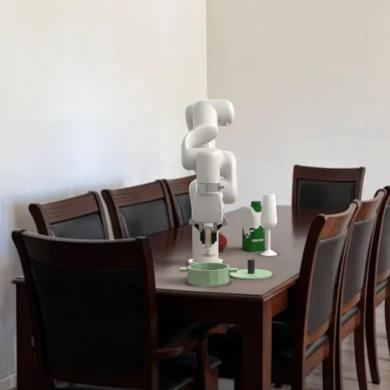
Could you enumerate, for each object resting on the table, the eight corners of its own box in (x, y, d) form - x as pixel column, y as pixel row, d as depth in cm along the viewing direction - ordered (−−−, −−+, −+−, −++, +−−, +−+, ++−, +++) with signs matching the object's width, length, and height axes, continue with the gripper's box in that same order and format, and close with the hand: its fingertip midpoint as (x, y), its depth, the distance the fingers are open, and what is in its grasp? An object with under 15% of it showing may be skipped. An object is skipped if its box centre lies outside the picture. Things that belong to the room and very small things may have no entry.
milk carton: (248, 252, 314) (248, 202, 312) (238, 248, 322) (238, 200, 320) (268, 250, 319) (268, 201, 317) (257, 246, 327) (257, 199, 324)
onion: (226, 252, 313) (226, 232, 312) (212, 252, 312) (212, 232, 311) (227, 250, 318) (227, 230, 318) (213, 250, 318) (213, 230, 317)
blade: (203, 252, 262) (202, 224, 261) (217, 252, 262) (217, 224, 261) (199, 257, 254) (198, 229, 253) (214, 258, 254) (214, 229, 253)
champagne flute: (258, 253, 312) (258, 193, 310) (274, 252, 315) (274, 192, 312) (262, 256, 306) (263, 195, 304) (279, 255, 309) (279, 194, 306)
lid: (232, 272, 276) (232, 254, 275) (273, 272, 276) (273, 255, 275) (227, 281, 262) (227, 262, 261) (270, 281, 262) (270, 263, 261)
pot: (184, 278, 265) (183, 262, 265) (239, 278, 265) (239, 262, 265) (176, 287, 252) (176, 270, 251) (234, 287, 252) (234, 270, 252)
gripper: (234, 187, 259) (234, 241, 262) (185, 186, 259) (185, 241, 261) (231, 189, 252) (231, 246, 254) (181, 189, 252) (181, 245, 254)
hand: (208, 243), depth 258 cm, fingers closed on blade, 2 cm apart
